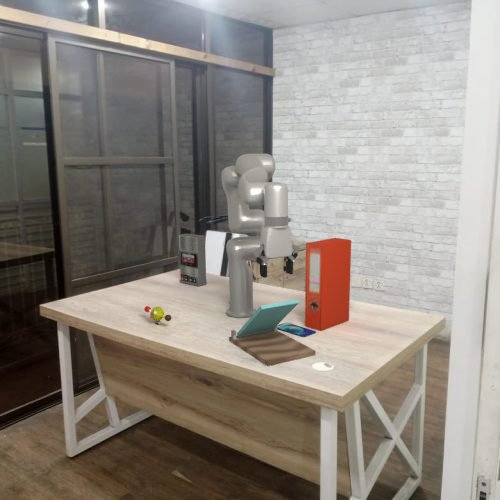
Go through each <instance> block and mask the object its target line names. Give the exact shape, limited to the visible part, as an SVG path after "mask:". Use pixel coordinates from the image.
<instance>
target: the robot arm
mask: <svg viewBox="0 0 500 500" xmlns="http://www.w3.org/2000/svg"><path fill="white" fill-rule="evenodd" d="M275 171H276V160H275V159H274V157H273V155H271V154H269V153H245V154H241V155H239V157H238V158H237V159H236V161H235V165H231V166H227V167H225V168H224V169H223V170H222V171H221V177H220V179H221V185H222V188H223V191H224V194H225V197H226V200H227V219H228V221H227V222H228V229H229V231H230V232H231V233H233V234H241V235H242V234H255V235H256V236H253V235H252V236H239V237H238V236H237V237H236V236H235V237H232V238H230V239H229V240H227V243H226V254H227V255H226V256H227V262H228V276H229V277H228V279H229V280H228V281H229V283H228V284H229V287H228V288H229V300H228V304H229V308H227V309H226V310H225V312H226V316H229V317H233V318H249V317H250V318H251V316H252V315H253V314H254V313H255V312H256V311H257V308H255V307H254V288H253V286H254V284H253V283H254V281H253V280H254V279H253V278H254V275H253V273H254V272H253V269H252V268H251V266H250V265H249V264H248V263H247V261H255V262H257V264H258V265H259V274H260V277H262V278H265V279H266V278H268V265H267V262H268V261H269V260H273V259H279V258H281V259H283V258H285V259H286V261H285V273H286V274H289V275H293V274H294V262H295V261H296V259H297V258H298V256H299V252H300V250H301V248H300V247H299V246H298V245H296V244H294V243H293V238H292V231H291V226H289V223H290V222H292V219H291V217H289V196H288V195H289V193H288V192H289V189H288V185H287V184H286V183H283V182H279V181H270V180H271V179H272V177H273V176H274V174H275V173H276V172H275ZM250 206H263V209H255V208H254V209H250Z"/></svg>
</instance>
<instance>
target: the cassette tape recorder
mask: <svg viewBox="0 0 500 500" xmlns="http://www.w3.org/2000/svg"><path fill="white" fill-rule="evenodd" d="M178 244H179V245H178V247H179V273H180V274H179V276H180V279H179V283H181V284H187V285H191V286H196V287H201V286H204V285H205V286H206V285H207V284H208V282H207V266H206V265H207V264H206V262H207V260H206V257H207V256H206V254H207V253H206V235H204V234H202V235H201V234H195V233H181V234H178Z"/></svg>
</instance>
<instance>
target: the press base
mask: <svg viewBox="0 0 500 500" xmlns="http://www.w3.org/2000/svg"><path fill="white" fill-rule="evenodd" d="M228 339H229V342H230V343H231V344H233V345H235V346H236V347H237V348H239V349H240V350H242V351H244V352H245V353H247V354H248V355H250V356H251V357H252V358H254V359H255V360H257V361H259V362H260V361H261V362H260V363H262V364H263V365H264V366H266V365H267V366H266V367H270V365H271V366H276V365H279V364H283V363H287V362H291V361H295V360H300V359H304V358H310V357H313V356H316V350H315V349H313V348H312V347H309V346H307V345H306V344H303V343H302V342H300V341H298V340H296V339H294V338H293V337H290V336H289V335H287V334H285V333H282V331H280V330H277V326H276V327H275V328H274V329H273V330H271V331H268V332H263V333H258V334H252V335H247V336H242V337H238V335H237V330H235V329H231V330H230V336H229V337H228Z"/></svg>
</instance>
